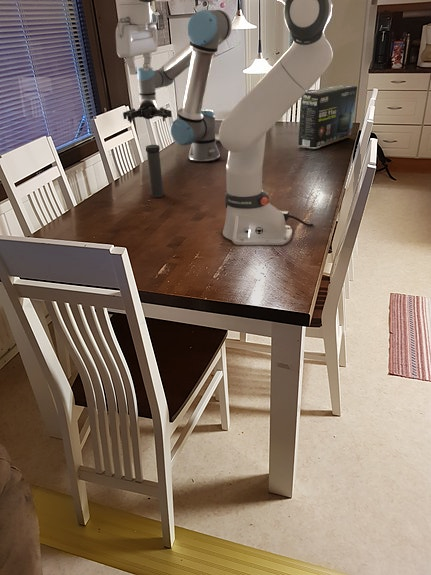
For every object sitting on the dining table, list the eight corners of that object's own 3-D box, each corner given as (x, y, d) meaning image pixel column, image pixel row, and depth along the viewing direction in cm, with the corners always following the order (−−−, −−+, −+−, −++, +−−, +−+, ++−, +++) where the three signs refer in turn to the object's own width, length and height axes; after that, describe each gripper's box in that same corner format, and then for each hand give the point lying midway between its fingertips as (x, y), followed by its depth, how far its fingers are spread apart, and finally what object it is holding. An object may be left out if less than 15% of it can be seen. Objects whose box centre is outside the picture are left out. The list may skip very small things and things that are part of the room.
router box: (314, 151, 231) (318, 94, 217) (296, 148, 237) (299, 92, 224) (352, 138, 251) (358, 85, 238) (335, 135, 258) (340, 83, 245)
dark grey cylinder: (149, 195, 184) (144, 147, 174) (160, 192, 186) (155, 145, 176) (154, 198, 181) (149, 149, 171) (165, 196, 183) (160, 147, 173)
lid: (143, 150, 175) (143, 146, 174) (156, 148, 177) (155, 143, 177) (149, 153, 171) (149, 148, 170) (162, 151, 174) (161, 146, 173)
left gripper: (176, 116, 208) (178, 126, 190) (120, 118, 206) (117, 129, 188) (175, 98, 204) (177, 107, 186) (118, 101, 202) (114, 110, 184)
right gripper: (128, 17, 116) (135, 76, 124) (159, 15, 133) (163, 68, 140) (106, 18, 118) (114, 76, 125) (139, 16, 135) (144, 68, 142)
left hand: (147, 118), depth 187 cm, fingers open, 13 cm apart
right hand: (140, 72), depth 133 cm, fingers open, 8 cm apart
